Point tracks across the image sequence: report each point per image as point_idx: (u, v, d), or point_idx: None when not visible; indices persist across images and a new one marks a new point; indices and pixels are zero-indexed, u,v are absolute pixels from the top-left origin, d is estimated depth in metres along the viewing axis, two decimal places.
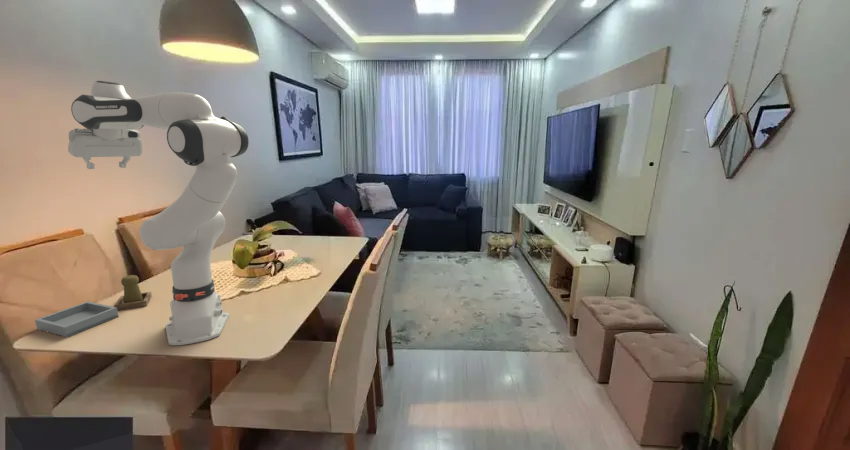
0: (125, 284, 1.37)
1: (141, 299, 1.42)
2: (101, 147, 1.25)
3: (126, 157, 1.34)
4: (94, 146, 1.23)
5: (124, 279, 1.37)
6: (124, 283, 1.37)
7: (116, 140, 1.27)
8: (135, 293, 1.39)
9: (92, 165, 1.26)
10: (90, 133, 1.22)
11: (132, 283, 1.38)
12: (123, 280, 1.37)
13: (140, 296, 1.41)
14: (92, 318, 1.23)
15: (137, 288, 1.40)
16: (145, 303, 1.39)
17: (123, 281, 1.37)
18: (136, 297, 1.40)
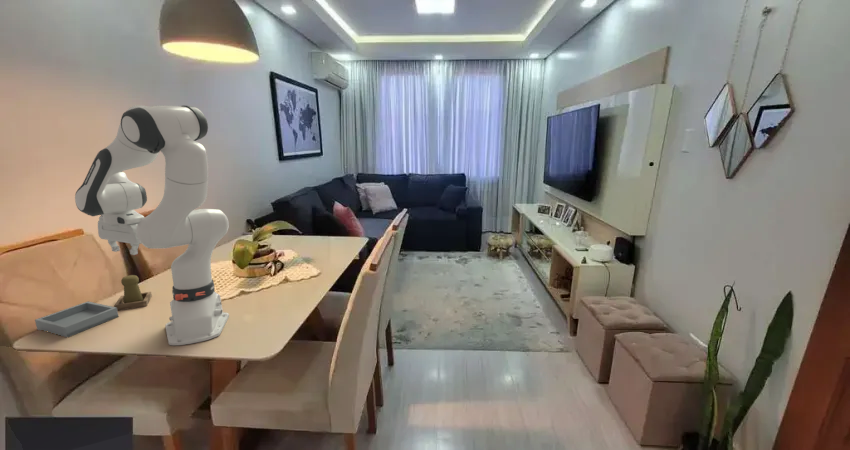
0: (125, 284, 1.37)
1: (141, 299, 1.42)
2: (111, 231, 1.34)
3: (130, 244, 1.33)
4: (107, 230, 1.35)
5: (124, 279, 1.37)
6: (124, 283, 1.37)
7: (113, 225, 1.31)
8: (135, 293, 1.39)
9: (113, 248, 1.37)
10: None
11: (132, 283, 1.38)
12: (123, 280, 1.37)
13: (140, 296, 1.41)
14: (92, 318, 1.23)
15: (137, 288, 1.40)
16: (145, 303, 1.39)
17: (123, 281, 1.37)
18: (136, 297, 1.40)
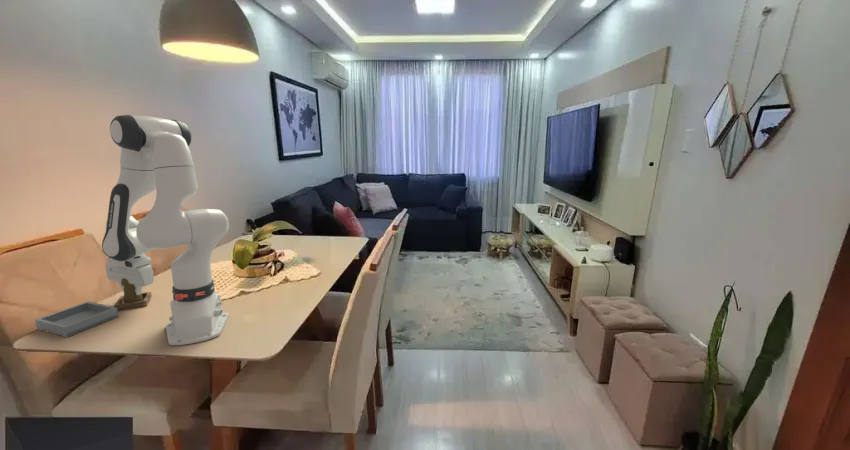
0: (125, 284, 1.37)
1: (141, 299, 1.42)
2: (119, 273, 1.38)
3: (134, 285, 1.38)
4: (115, 272, 1.39)
5: (124, 279, 1.37)
6: (124, 283, 1.37)
7: (121, 268, 1.35)
8: None
9: None
10: None
11: None
12: (123, 280, 1.37)
13: (140, 296, 1.41)
14: (92, 318, 1.23)
15: None
16: (145, 303, 1.39)
17: (123, 281, 1.37)
18: (136, 297, 1.40)
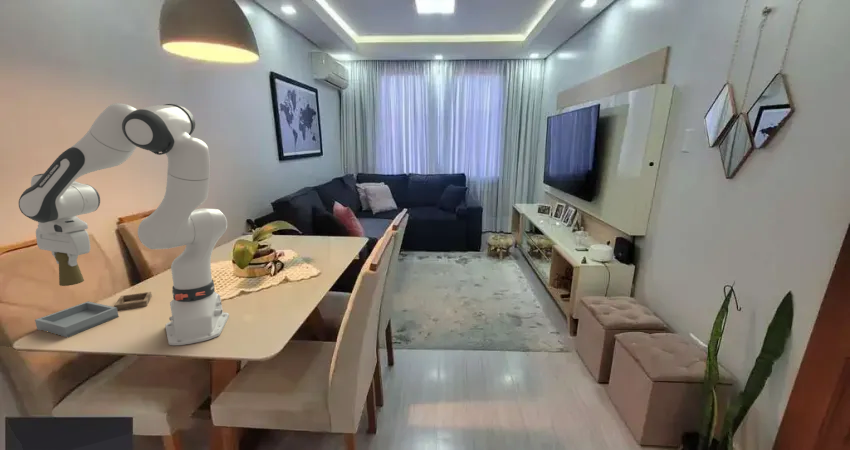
0: (60, 259, 1.19)
1: (80, 277, 1.23)
2: (50, 241, 1.19)
3: (67, 254, 1.19)
4: (46, 239, 1.19)
5: (58, 254, 1.19)
6: (58, 258, 1.19)
7: (51, 234, 1.16)
8: (73, 271, 1.21)
9: None
10: None
11: None
12: (57, 255, 1.19)
13: (79, 274, 1.23)
14: (92, 318, 1.23)
15: None
16: (145, 303, 1.39)
17: (57, 256, 1.19)
18: (74, 275, 1.22)
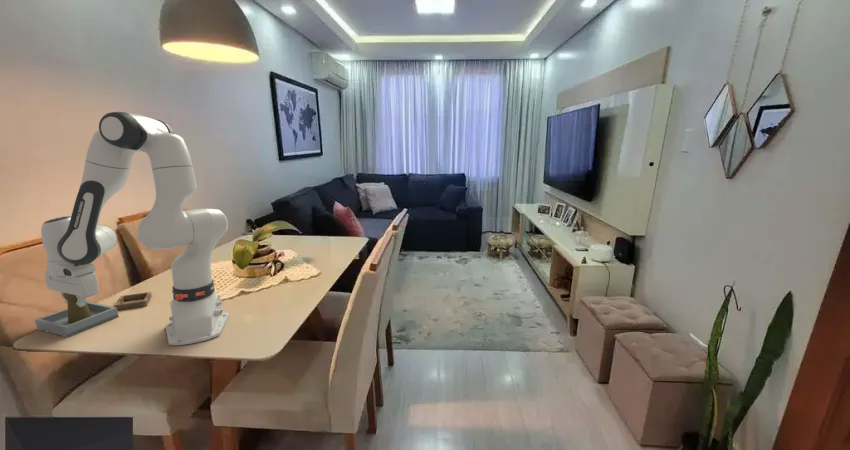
0: (68, 298, 1.22)
1: (88, 314, 1.27)
2: (59, 282, 1.22)
3: (76, 296, 1.22)
4: (55, 281, 1.23)
5: (67, 293, 1.22)
6: (67, 297, 1.22)
7: (60, 277, 1.19)
8: (81, 308, 1.25)
9: (66, 300, 1.24)
10: None
11: None
12: (66, 294, 1.22)
13: (87, 311, 1.26)
14: (92, 318, 1.23)
15: None
16: (145, 303, 1.39)
17: (66, 295, 1.22)
18: (82, 313, 1.25)
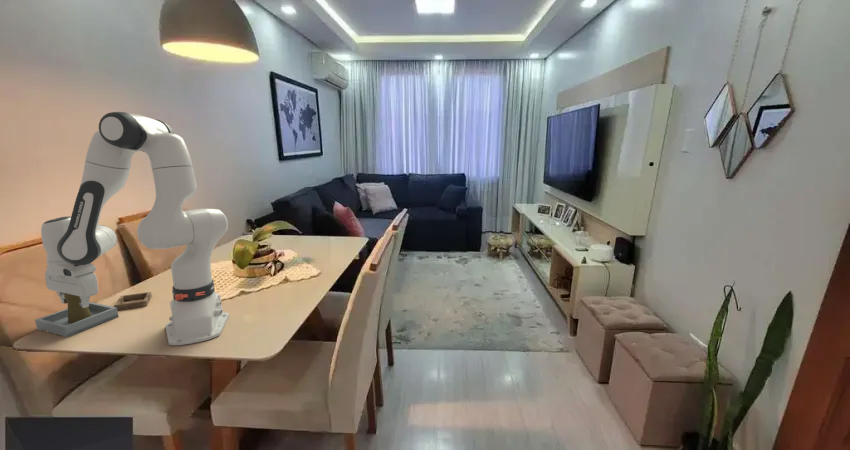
0: (68, 298, 1.22)
1: (88, 314, 1.27)
2: (59, 283, 1.22)
3: (80, 297, 1.21)
4: (55, 281, 1.23)
5: None
6: (67, 297, 1.22)
7: (60, 277, 1.19)
8: (81, 309, 1.25)
9: (62, 300, 1.25)
10: None
11: (77, 297, 1.23)
12: (66, 294, 1.22)
13: (87, 311, 1.26)
14: (92, 318, 1.23)
15: None
16: (145, 303, 1.39)
17: (66, 295, 1.22)
18: (82, 313, 1.25)
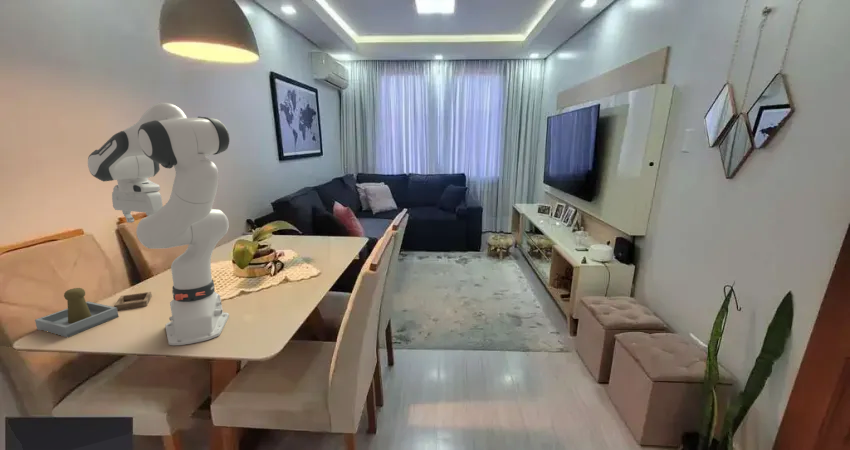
0: (68, 298, 1.22)
1: (88, 314, 1.27)
2: (126, 201, 1.34)
3: (146, 213, 1.33)
4: (122, 200, 1.34)
5: (67, 293, 1.22)
6: (67, 297, 1.22)
7: (129, 194, 1.31)
8: (81, 309, 1.25)
9: (127, 219, 1.37)
10: None
11: (77, 297, 1.23)
12: (66, 294, 1.22)
13: (87, 311, 1.26)
14: (92, 318, 1.23)
15: (83, 302, 1.25)
16: (145, 303, 1.39)
17: (66, 295, 1.22)
18: (82, 313, 1.25)
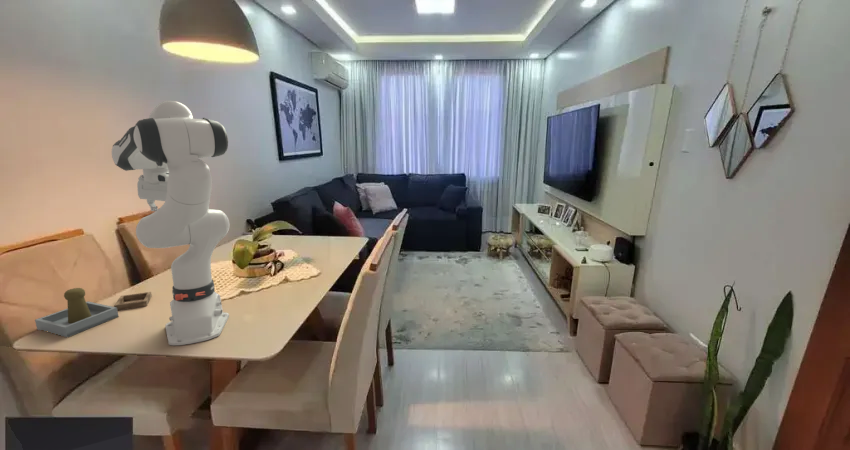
0: (68, 298, 1.22)
1: (88, 314, 1.27)
2: (151, 191, 1.39)
3: None
4: (147, 189, 1.40)
5: (67, 293, 1.22)
6: (67, 297, 1.22)
7: (154, 184, 1.37)
8: (81, 309, 1.25)
9: (151, 207, 1.42)
10: None
11: (77, 297, 1.23)
12: (66, 294, 1.22)
13: (87, 311, 1.26)
14: (92, 318, 1.23)
15: (83, 302, 1.25)
16: (145, 303, 1.39)
17: (66, 295, 1.22)
18: (82, 313, 1.25)
